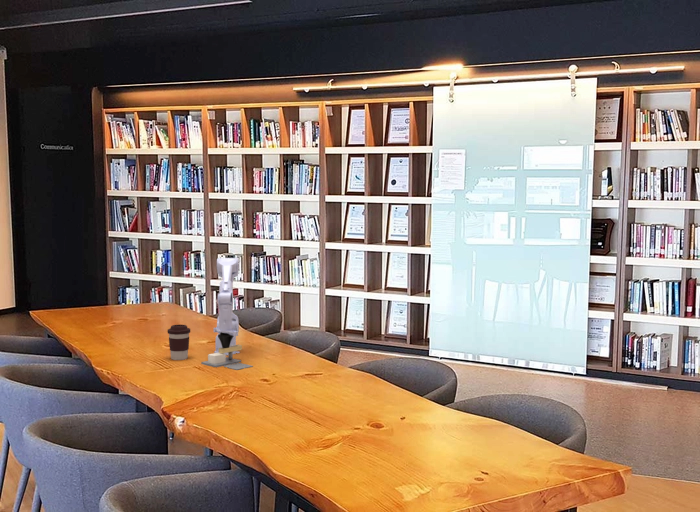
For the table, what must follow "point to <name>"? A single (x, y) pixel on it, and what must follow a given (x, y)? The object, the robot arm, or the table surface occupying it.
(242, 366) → the mat
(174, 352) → the coffee cup
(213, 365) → the panel
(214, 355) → the white rectangular block
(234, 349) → the tan rectangular bar
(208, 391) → the table surface
